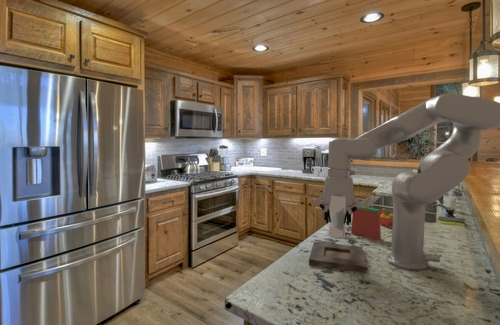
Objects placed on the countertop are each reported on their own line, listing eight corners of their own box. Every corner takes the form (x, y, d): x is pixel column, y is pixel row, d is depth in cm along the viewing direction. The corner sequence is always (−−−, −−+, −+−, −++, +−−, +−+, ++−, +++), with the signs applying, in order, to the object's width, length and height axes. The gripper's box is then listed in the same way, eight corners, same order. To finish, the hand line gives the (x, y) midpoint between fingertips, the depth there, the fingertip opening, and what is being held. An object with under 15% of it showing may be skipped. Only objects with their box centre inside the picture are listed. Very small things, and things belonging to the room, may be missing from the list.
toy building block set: (351, 233, 127) (351, 203, 126) (380, 219, 152) (380, 193, 151) (378, 240, 118) (380, 207, 117) (405, 224, 143) (406, 196, 142)
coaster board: (362, 252, 105) (362, 246, 105) (366, 273, 88) (366, 266, 88) (313, 246, 111) (314, 241, 110) (308, 264, 94) (308, 259, 93)
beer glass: (343, 240, 94) (345, 197, 93) (323, 236, 98) (325, 194, 97) (349, 235, 99) (351, 194, 98) (330, 231, 104) (332, 191, 102)
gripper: (364, 173, 98) (362, 223, 99) (314, 171, 103) (313, 218, 105) (366, 175, 91) (364, 229, 92) (312, 173, 96) (311, 223, 98)
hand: (337, 223), depth 98 cm, fingers closed on beer glass, 6 cm apart
